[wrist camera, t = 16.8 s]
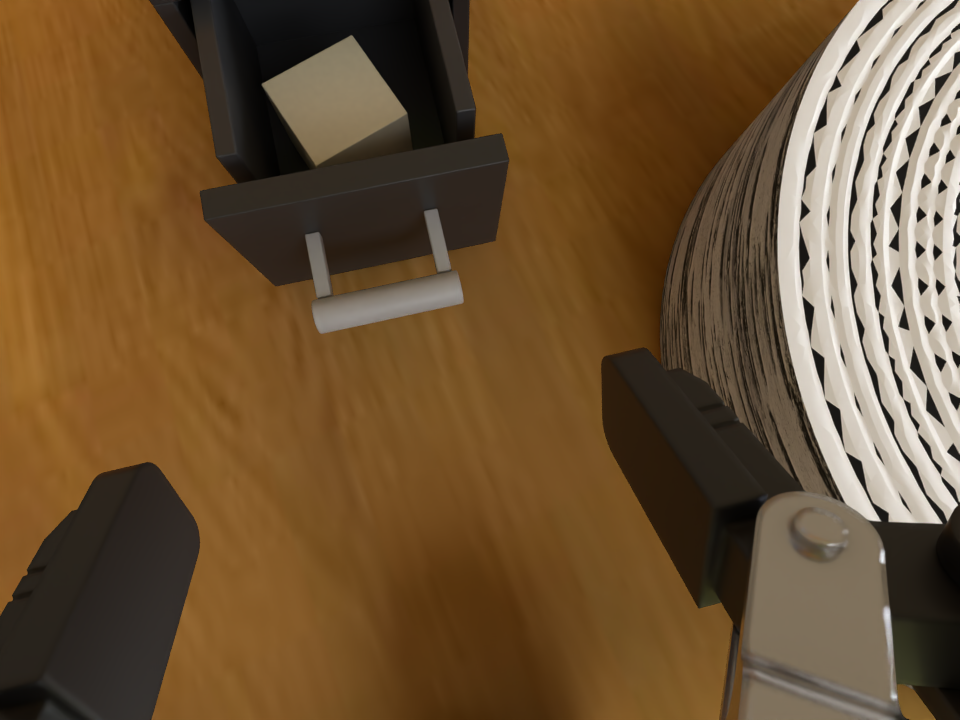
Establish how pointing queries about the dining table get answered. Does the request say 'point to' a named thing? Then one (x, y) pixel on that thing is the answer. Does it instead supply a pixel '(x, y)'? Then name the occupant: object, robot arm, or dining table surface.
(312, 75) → the block
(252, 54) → the drawer
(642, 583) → the dining table surface
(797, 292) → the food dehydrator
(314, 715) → the dining table surface
